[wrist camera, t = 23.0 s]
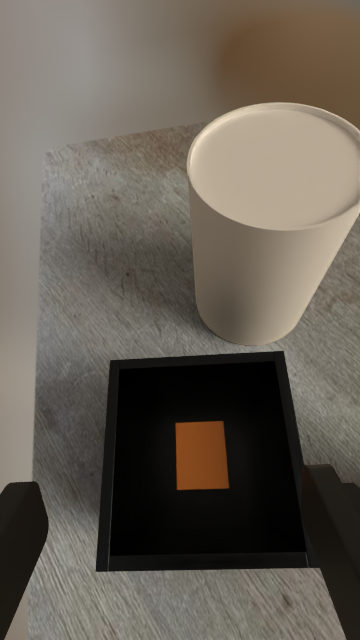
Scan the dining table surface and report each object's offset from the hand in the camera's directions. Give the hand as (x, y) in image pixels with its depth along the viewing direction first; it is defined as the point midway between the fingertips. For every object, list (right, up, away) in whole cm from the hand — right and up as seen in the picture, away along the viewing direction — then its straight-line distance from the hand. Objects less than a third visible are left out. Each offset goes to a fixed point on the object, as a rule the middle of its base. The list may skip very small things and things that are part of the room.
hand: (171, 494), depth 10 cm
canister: (+9, +8, +32) cm, 34 cm away
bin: (+3, -9, +24) cm, 26 cm away
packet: (+3, -9, +23) cm, 25 cm away
